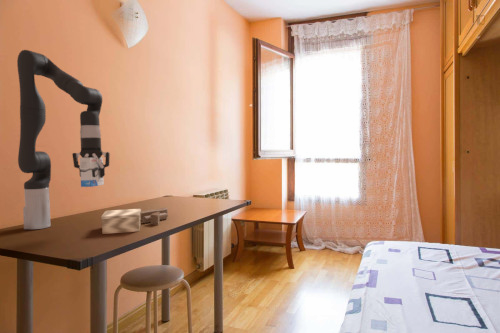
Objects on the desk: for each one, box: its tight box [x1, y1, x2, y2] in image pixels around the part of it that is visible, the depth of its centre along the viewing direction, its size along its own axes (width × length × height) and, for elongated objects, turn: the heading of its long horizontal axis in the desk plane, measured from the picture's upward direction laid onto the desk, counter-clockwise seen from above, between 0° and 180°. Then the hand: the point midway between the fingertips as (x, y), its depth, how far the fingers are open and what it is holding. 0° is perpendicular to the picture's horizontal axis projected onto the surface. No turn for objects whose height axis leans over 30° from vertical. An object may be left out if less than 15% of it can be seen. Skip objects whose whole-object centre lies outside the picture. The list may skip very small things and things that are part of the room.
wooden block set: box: [140, 207, 169, 226], centre depth 162 cm, size 17×6×18 cm
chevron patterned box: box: [100, 208, 142, 235], centre depth 145 cm, size 15×15×7 cm
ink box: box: [79, 156, 105, 188], centre depth 140 cm, size 8×5×12 cm, turn 168°
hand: (92, 177), depth 140 cm, fingers closed on ink box, 6 cm apart
